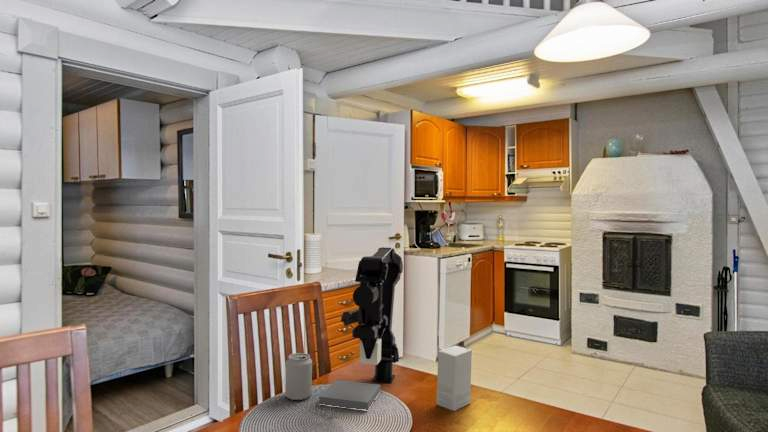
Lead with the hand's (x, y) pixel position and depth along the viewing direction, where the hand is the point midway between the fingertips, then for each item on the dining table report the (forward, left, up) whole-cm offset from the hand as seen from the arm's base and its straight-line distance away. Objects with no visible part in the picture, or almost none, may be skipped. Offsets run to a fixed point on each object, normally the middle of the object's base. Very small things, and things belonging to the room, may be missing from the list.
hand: (370, 355), depth 132 cm
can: (+3, -21, -13) cm, 25 cm away
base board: (0, -6, -13) cm, 14 cm away
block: (0, 0, -2) cm, 2 cm away
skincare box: (-5, +23, -13) cm, 27 cm away
